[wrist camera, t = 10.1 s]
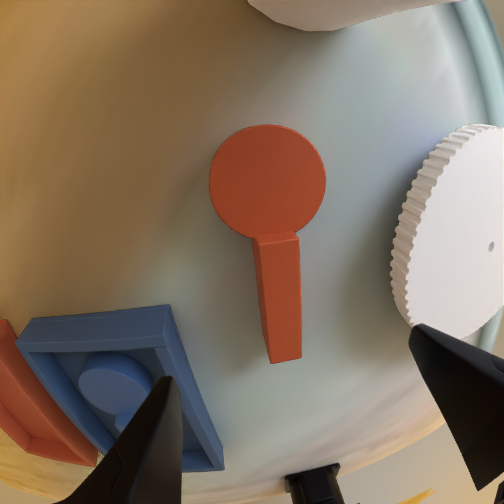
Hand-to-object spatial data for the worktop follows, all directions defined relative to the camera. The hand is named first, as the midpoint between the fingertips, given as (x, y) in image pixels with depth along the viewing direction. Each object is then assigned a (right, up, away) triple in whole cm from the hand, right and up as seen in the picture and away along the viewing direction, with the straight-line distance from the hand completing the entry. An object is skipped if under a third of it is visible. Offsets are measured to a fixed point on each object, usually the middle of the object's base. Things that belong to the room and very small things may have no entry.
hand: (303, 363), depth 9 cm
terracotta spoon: (-1, +4, +4) cm, 6 cm away
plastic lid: (+12, +5, +6) cm, 14 cm away
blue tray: (-10, -6, +8) cm, 14 cm away
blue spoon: (-10, -7, +7) cm, 14 cm away
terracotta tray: (-22, -8, +7) cm, 24 cm away
